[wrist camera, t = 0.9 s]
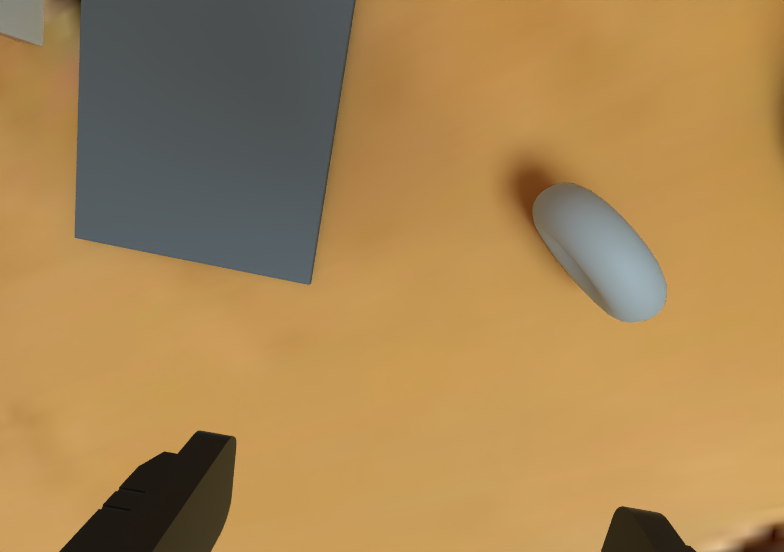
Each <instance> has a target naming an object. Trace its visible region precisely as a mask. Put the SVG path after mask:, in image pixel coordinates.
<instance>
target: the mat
mask: <svg viewBox="0 0 784 552" xmlns="http://www.w3.org/2000/svg"><path fill="white" fill-rule="evenodd" d="M354 7H355V0H81V26H80V63H79V100H78V137H77V173H76V210H75V238H79V239H84V240H89V241H94V242H99V243H104V244H109V245H114V246H119V247H124V248H129V249H134V250H138V251H143V252H148V253H153V254H158V255H163V256H168V257H173V258H178V259H183V260H188V261H193V262H198V263H203V264H208V265H213V266H218V267H223V268H228V269H233V270H238V271H243V272H248V273H253V274H258V275H263V276H268V277H273V278H278V279H283V280H288V281H293V282H298V283H303V284H308V285H310V283H311V280H312V274H313V267H314V261H315V255H316V248H317V242H318V235H319V229H320V223H321V216H322V210H323V204H324V197H325V191H326V185H327V178H328V172H329V166H330V159H331V153H332V147H333V140H334V134H335V127H336V121H337V115H338V108H339V102H340V96H341V89H342V83H343V77H344V70H345V64H346V58H347V51H348V45H349V39H350V32H351V26H352V19H353V13H354Z"/></svg>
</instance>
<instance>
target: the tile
mask: <svg viewBox="0 0 784 552" xmlns="http://www.w3.org/2000/svg"><path fill="white" fill-rule="evenodd" d="M43 1H44V0H0V36H3V37H6V38H9V39H12V40H15V41H18V42H23V43H28V44H33V45H38V46H43Z"/></svg>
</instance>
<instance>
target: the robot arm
mask: <svg viewBox="0 0 784 552" xmlns="http://www.w3.org/2000/svg"><path fill="white" fill-rule="evenodd" d="M235 454H236V438H235V437H234V436H228V435H222V434H217V433H211V432H205V431H197V432H196V433H195V434H194V435H193V436H192V437H191V438H190V440H189V441H188V442H187V443H186V444H185V446H184V447H183V448H182V449H181V450H180V452H179V453H178V454H175V453H170V452H163V453H161V454H159V455H157V456H156V457H154V458H152V459H151V460H149V461H147V462H145V463H144V464H142V465H140V466H139V467H138V468H137V469H136V470H135V471H134V472H133V473H132V474H131V475H130V476H129V477H128V478H127V479H126V480H125V482H124V483H123V484H122V485H121V486H120V487H119V490H118V491H115V492H114V493H113V494H112V496H111V497H110V498H109V499H108V500H107V501H106V502H105V503H104V504H103V507H102V509H99V510H98V511H97V512H96V513H95V514H94V515H93V516H92V517H91V518H90V519H89V520H88V521H87V522H86V524H85V525H84V526H83V527H82V528H81V529H80V530H79V531H78V532H77V533H76V534H75V535H74V536H73V538H72V539H71V540H70V541H69V542H68V543H67V544H66V545H65V546H64V547H63V548H62V549H61V550H60V552H211V550H212V548H213V547H214V545H215V543H216V541H217V539H218V537H219V535H220V533H221V531H222V529H223V527H224V524H225V522H226V519H227V515H228V512H229V508H230V504H231V497H232V487H233V476H234V465H235ZM601 552H696V551H695V550H694V549H693V548H692V547H691V546H687V545H685V543H684V542H683V541H682V539H681V538H680V536H679V535H678V534H677V532H676V531H675V530H674V528H673V527H672V525H671V524H670V523H669V521H668V520H667V519H666V518H665V516H663V515H662V514H660V513H657V512H652V511H646V510H640V509H635V508H629V507H623V506H622V507H619V508H618V509H617V510H616V511H615V513H614V515H613V518H612V521H611V524H610V527H609V530H608V533H607V535H606V538H605V541H604V544H603V547H602V550H601Z"/></svg>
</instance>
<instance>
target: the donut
mask: <svg viewBox="0 0 784 552" xmlns="http://www.w3.org/2000/svg"><path fill="white" fill-rule="evenodd" d="M532 214H533V220H534V225H535V227H536V229H537V231H538V233H539V234H540V236H541V237H542V239H543V240H544V242H545V244H546V245H547V247H548V248H549V249H550V251H551V252H552V254H553V255H554V256H555V258H556V259H557V260H558V262H559V263H560V264H561V265H562V267H563V268H564V269H565V270H566V272H567V273H568V274H569V275H570V276H571V277H572V279H573V280H574V281H575V282H576V283H577V284H578V285H579V287H580V288H581V289H582V290H583V291H584V292H585V293H586V294H587V295H588V296H589V297H590V298H591V299H592V300H593V301H594V302H595V303H596V304H597V305H598V306H599V307H600V308H602V309H603V310H604V311H605V312H606V313H607V314H609V315H610V316H612V317H614V318H616V319H618V320H620V321H623V322H630V323H633V322H640V321H645V320H648V319H650V318H652V317H654V316H655V315H657V314H658V313H659V312H660V311H661V310H662V308H663V306H664V304H665V302H666V294H667V284H666V281H665V278H664V275H663V273H662V270H661V268H660V266H659V263H658V262H657V260H656V259H655V257H654V256H653V254H652V252H651V251H650V249H649V248H648V246H647V245H646V244H645V243H644V241H643V240H642V239H641V238H640V236H639V235H638V234H637V233H636V231H635V230H634V229H633V228H632V227H631V226H630V225H629V224H628V222H627V221H626V220H625V219H624V218H623V217H622V216H621V215H620V214H619V213H618V212H617V211H616V210H615V209H614V208H612V207H611V206H610V205H609V204H608V203H607V202H606V201H604V200H603V199H602V198H601V197H599V196H598V195H596V194H595V193H593V192H592V191H590V190H588V189H586V188H584V187H582V186H579V185H576V184H574V183H565V182H564V183H559V184H555V185H553V186H550V187H549V188H547V189H545V190H543V191H542V192H541V193H540V194H539V195H538V196H537V198H536V200H535V202H534V204H533V210H532Z"/></svg>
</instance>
